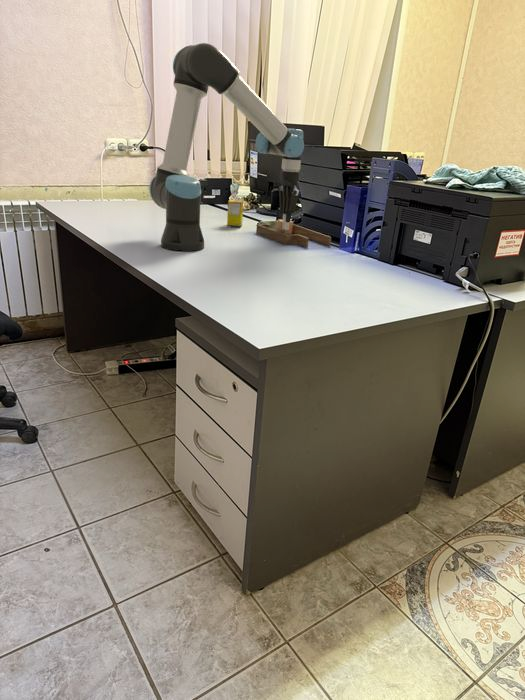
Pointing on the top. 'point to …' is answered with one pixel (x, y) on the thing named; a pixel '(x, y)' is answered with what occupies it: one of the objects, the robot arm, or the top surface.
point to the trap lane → (300, 236)
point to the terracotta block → (289, 226)
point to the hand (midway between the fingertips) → (285, 229)
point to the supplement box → (235, 213)
